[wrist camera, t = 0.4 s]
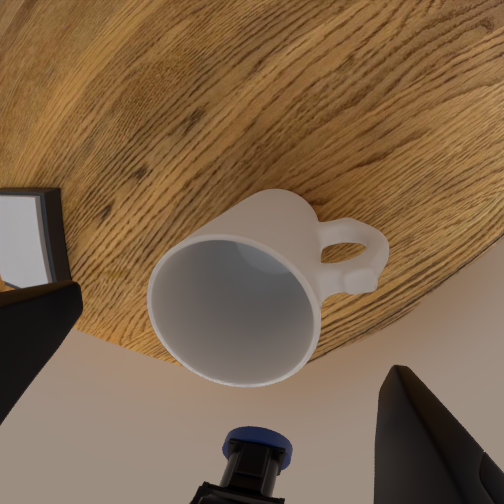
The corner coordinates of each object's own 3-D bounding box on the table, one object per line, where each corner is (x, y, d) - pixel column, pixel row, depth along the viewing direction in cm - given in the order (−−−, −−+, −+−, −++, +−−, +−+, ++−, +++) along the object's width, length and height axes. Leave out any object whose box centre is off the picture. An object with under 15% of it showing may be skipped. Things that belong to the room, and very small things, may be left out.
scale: (75, 299, 30) (58, 311, 27) (16, 279, 32) (1, 288, 29) (59, 188, 26) (38, 194, 23) (1, 187, 28) (-16, 193, 25)
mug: (246, 282, 24) (184, 390, 13) (218, 198, 22) (121, 256, 11) (376, 255, 21) (415, 364, 10) (357, 162, 19) (398, 188, 8)
